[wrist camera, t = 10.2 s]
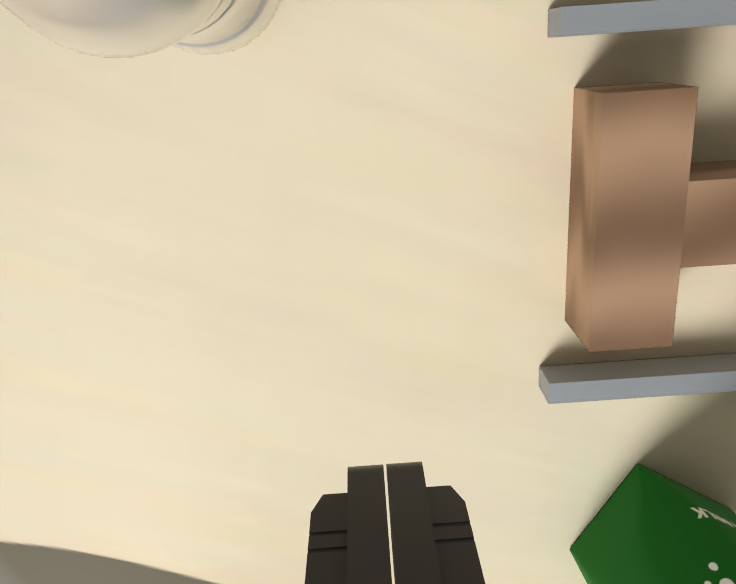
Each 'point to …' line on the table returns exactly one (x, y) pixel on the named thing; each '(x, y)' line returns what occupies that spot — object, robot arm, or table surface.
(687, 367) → the bay frame
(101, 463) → the table surface
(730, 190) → the t block
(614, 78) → the table surface
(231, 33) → the plastic bottle
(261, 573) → the table surface
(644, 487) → the soya milk
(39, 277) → the table surface
